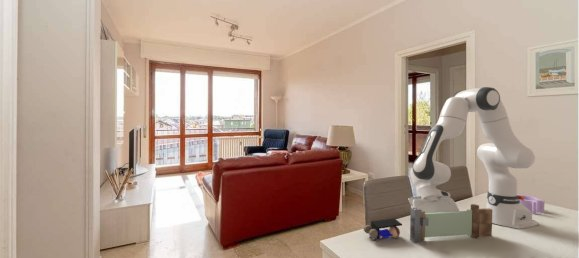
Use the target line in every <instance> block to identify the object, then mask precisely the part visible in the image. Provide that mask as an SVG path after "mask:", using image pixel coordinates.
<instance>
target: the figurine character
mask: <svg viewBox="0 0 579 258" xmlns="http://www.w3.org/2000/svg"><path fill="white" fill-rule="evenodd" d="M400 226H403V224H402V222H400V221H398V220H397V219H395V217H394V218H387V219H379V220H373V221H372V220H371V221H370V224H366V225H365V226H364V227H363V232H364V233H365V234H368V236H369V239H372V241H373V242H375V241H376V242H377V241H379V240H380V239H389V238H390V237H391V238H393V239H396V238H399V236H400V235H401V231H400V229H399V227H400ZM375 238H376V239H375Z"/></svg>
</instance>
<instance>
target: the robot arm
mask: <svg viewBox="0 0 579 258" xmlns="http://www.w3.org/2000/svg"><path fill="white" fill-rule="evenodd" d="M474 112H477V114H478V115H477V116H478V119H479V124H480V126H481V130H482V134H483V136H484V137H485V138H486V139H487V140H489V141H491V142H488V143H481V145H479V146H478V148H477V150H476V156H477V158H478V160H480V161H481V162H482V163H483V166H484V167H485V170H486V172H487V176H488V191H487V193H486V198H487V201H486V205H485V206H486V207H485V208H490V209H492V224H495V225H499V226H503V227H509V228H514V229H519V230H522V229H527V228H531V227H536V226H540V225H539V222H538V221H536V220H534V219H533V214H532V213H531V211H530V210H529V209H527V208H526V207H525V206H523V205H522V204H521V203H520V200H519V199H521V200H524V198H525V197H524V196H520V195H521V194H519V196H518V195H517V194H518V180H517V178H516V176H515V175H513V173H511V171H510V169H528V168H530V167H532V165H533V164H534V163H535V160H536V155H535V152H534V151H533V150H532V149H531V148H529V147H527V146H526V145H525V144H523V143H522V142H521V140H520V139H518V137H517V136H516V134H515V133H514V131H513V129H512V126H511V123H510V120H509V117H508V113H507V110H506V108H505V106H504V103H503V102H502V100H501V95H500V93H499V91H498V90H497V89H495V88H494V87H492V86H491V87H489V86H488V87H487V86H484V87H476V88H474V87H473V88H469V89H466V90H459V91H456V92H455V93H452V95H451V96H450V97H449V98H447V99H446V101H445V102H444V104H443V105H442V108H441V110H440V113H439V118H438V120H437V122H436V124H435V125H434V126H432V127H431V129H430V130H429V131H428V133H427V136H426V138H425V140H424V143H423V145H422V146H421V149H420V152H419V153H418V155H417V157H416V158H415V160H414V162H413V163H412V167H410V170H409V175H410V179H411V181H412V185H413V187H415V189H416V194H417V196H410V197H409V198H408V202H409V205H410V209H411V208H415V207H417V208H419V209H421V210H422V211H425V213H437V212H455V211H460V209H459V208H458V205H457V204H456V202H455V200H454V199H453V198H452V197H451V193H450V192H447V191H445V190H440V189H439V188H437V186H441V185H443V184H445V183H448V182H449V181H450V179H451V177H452V170H451V168H450V166H449V165H447V164H445V163H442V162H439V161H436V160H434V158H435V155H436V153H437V150H438V148H439V147H440V144H441V143H442V141H444V140H449V139H454V138H457V137H458V136H460V135H461V134H462V133H463V131H464V129H465V127H466V123H467V119H468V114H469V113H474ZM509 168H510V169H509Z"/></svg>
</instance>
